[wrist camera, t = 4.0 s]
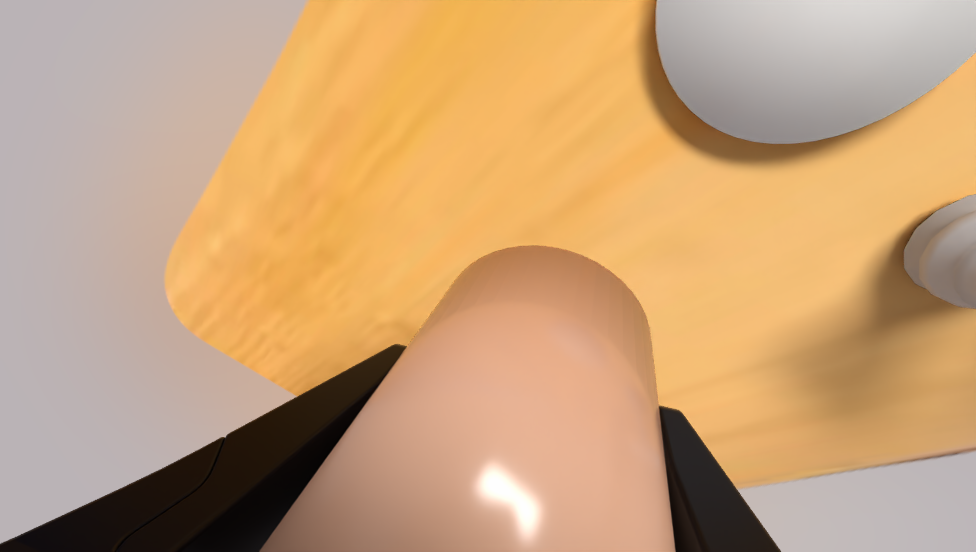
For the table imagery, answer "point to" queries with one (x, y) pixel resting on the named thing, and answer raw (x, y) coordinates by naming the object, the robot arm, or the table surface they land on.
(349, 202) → the table surface
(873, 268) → the table surface
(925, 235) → the rook chess piece
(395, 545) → the cup
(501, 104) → the table surface
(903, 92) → the coaster
